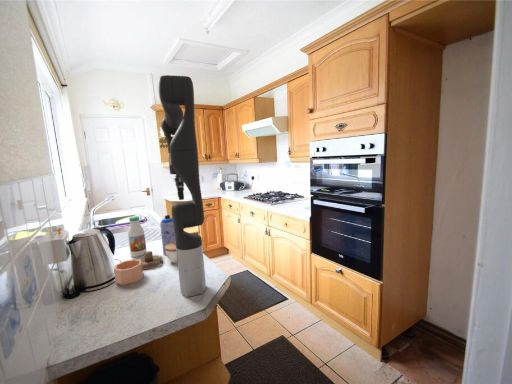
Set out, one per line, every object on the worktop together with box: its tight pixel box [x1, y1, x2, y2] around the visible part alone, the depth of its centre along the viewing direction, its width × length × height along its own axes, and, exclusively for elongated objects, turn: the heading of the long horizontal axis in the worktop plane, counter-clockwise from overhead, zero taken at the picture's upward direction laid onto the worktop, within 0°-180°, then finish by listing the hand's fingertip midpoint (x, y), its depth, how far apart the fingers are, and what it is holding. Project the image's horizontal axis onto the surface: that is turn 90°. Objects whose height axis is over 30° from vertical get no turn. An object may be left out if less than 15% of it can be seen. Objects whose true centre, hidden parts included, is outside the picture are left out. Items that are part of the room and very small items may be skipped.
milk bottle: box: [127, 215, 148, 258], centre depth 132 cm, size 8×8×20 cm
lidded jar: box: [165, 242, 178, 264], centre depth 123 cm, size 11×11×9 cm
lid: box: [139, 251, 163, 269], centre depth 120 cm, size 12×12×5 cm
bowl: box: [113, 258, 144, 286], centre depth 107 cm, size 10×10×6 cm
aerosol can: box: [159, 214, 176, 257], centre depth 132 cm, size 8×8×20 cm
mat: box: [143, 255, 163, 271], centre depth 121 cm, size 11×11×1 cm
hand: (181, 198), depth 119 cm, fingers open, 8 cm apart
